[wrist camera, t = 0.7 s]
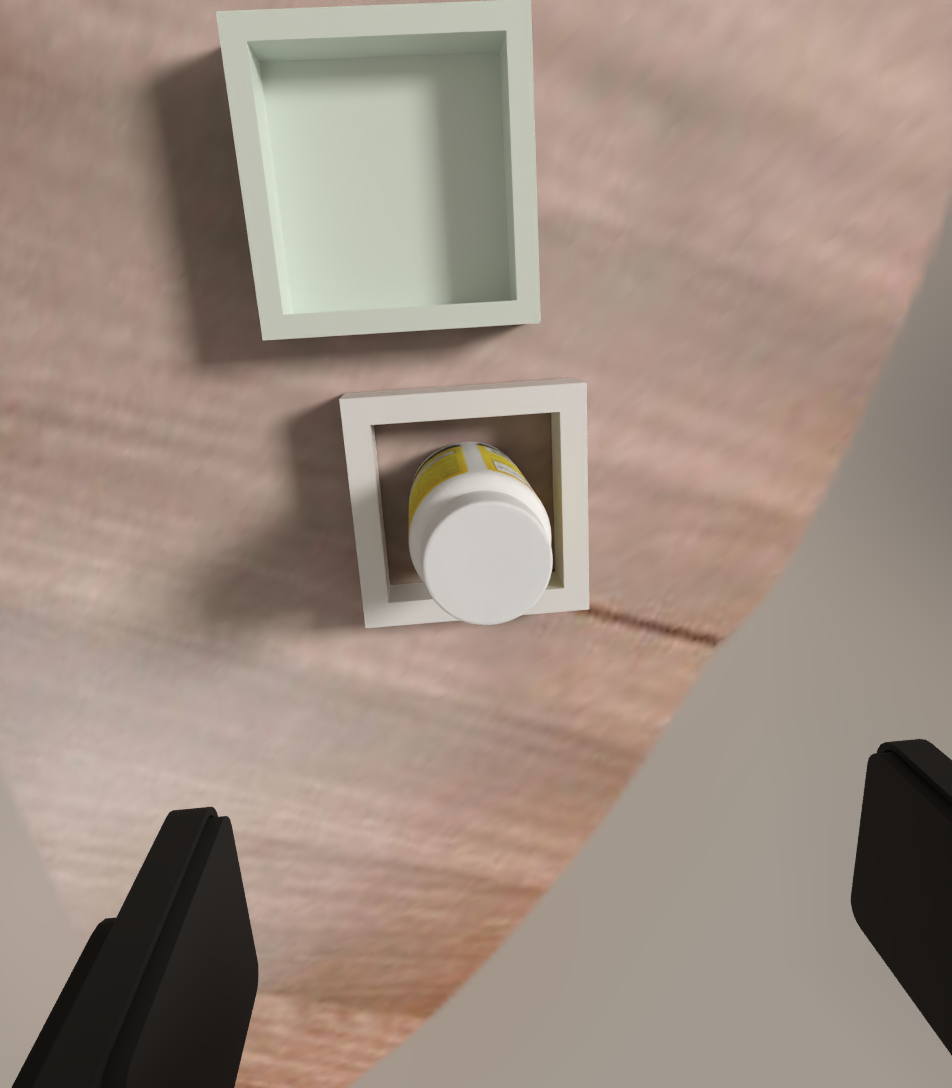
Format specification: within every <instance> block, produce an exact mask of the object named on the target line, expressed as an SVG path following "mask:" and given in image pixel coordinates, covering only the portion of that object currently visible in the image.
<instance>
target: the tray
mask: <svg viewBox="0 0 952 1088" xmlns="http://www.w3.org/2000/svg"><path fill="white" fill-rule="evenodd" d="M216 17H217V24H218V31H219V38H220V45H221V52H222V59H223V66H224V73H225V80H226V87H227V94H228V101H229V108H230V115H231V122H232V129H233V136H234V143H235V150H236V157H237V164H238V171H239V178H240V185H241V192H242V199H243V206H244V213H245V220H246V227H247V234H248V241H249V248H250V255H251V262H252V269H253V276H254V283H255V290H256V297H257V304H258V311H259V318H260V325H261V332H262V339H263V340H279V339H295V338H311V337H327V336H342V335H358V334H374V333H390V332H406V331H422V330H437V329H453V328H469V327H485V326H501V325H516V324H532V323H541V316H540V283H539V250H538V217H537V184H536V151H535V118H534V85H533V52H532V19H531V0H496V1H470V2H444V3H418V4H393V5H367V6H341V7H315V8H290V9H264V10H238V11H216Z"/></svg>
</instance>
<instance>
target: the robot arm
mask: <svg viewBox="0 0 952 1088" xmlns="http://www.w3.org/2000/svg"><path fill="white" fill-rule="evenodd" d="M851 905H852V910H853V914H854V917H855V919H856V921H857V923H858V925H859V926H860V928H861V930H862V931H863V932H864V934H865V935H866V937H867V938H868V939H869V941H870V942H871V944H872V945H873V946H874V948H875V949H876V951H877V952H878V953H879V954H880V956H881V957H882V959H883V960H884V962H885V963H886V964H887V966H888V967H889V968H890V970H891V971H892V973H893V974H894V976H895V977H896V978H897V980H898V981H899V983H900V984H901V985H902V987H903V988H904V989H905V991H906V992H907V994H908V995H909V996H910V998H911V999H912V1001H913V1002H914V1003H915V1005H916V1006H917V1008H918V1009H919V1010H920V1011H921V1013H922V1014H923V1016H924V1017H925V1019H926V1020H927V1022H928V1023H929V1024H930V1026H931V1027H932V1029H933V1030H934V1031H935V1032H936V1034H937V1035H938V1037H939V1038H940V1039H941V1041H942V1042H943V1044H944V1045H945V1047H946V1048H947V1049H948V1051H949V1052H950V1053H951V1055H952V760H951V759H950V758H948V757H947V756H946V755H945V754H944V753H942V752H941V751H940V750H939V749H938V748H936V747H935V746H934V745H933V744H932V743H930V742H928V741H927V740H923V739H915V740H905V741H894V742H885V743H883V744H881V745H880V747H879V748H878V750H877V753H876V754H873V755H871V756H870V757H869V760H868V764H867V772H866V780H865V788H864V796H863V804H862V812H861V820H860V828H859V836H858V844H857V852H856V860H855V869H854V876H853V884H852V892H851ZM257 986H258V961H257V956H256V950H255V945H254V940H253V935H252V929H251V924H250V919H249V914H248V908H247V903H246V898H245V893H244V888H243V882H242V877H241V872H240V867H239V861H238V856H237V851H236V846H235V840H234V835H233V830H232V825H231V821H230V819H229V817H227V816H223V817H218V815H217V812H216V810H215V809H214V808H213V807H205V808H194V809H184V810H173V811H171V812H170V813H169V814H168V816H167V817H166V819H165V821H164V823H163V825H162V827H161V829H160V831H159V833H158V835H157V837H156V839H155V841H154V843H153V845H152V847H151V849H150V851H149V853H148V855H147V857H146V859H145V861H144V863H143V865H142V867H141V869H140V871H139V873H138V875H137V877H136V879H135V881H134V883H133V885H132V887H131V889H130V891H129V894H128V896H127V898H126V900H125V902H124V904H123V906H122V908H121V910H120V912H119V914H118V916H117V918H108V919H105V920H103V921H102V922H101V923H99V924H98V926H97V927H96V929H95V930H94V932H93V933H92V935H91V936H90V938H89V940H88V942H87V944H86V946H85V948H84V950H83V952H82V954H81V956H80V957H79V959H78V961H77V963H76V965H75V967H74V969H73V971H72V973H71V975H70V977H69V979H68V981H67V983H66V984H65V986H64V988H63V990H62V992H61V994H60V996H59V998H58V1000H57V1001H56V1003H55V1005H54V1007H53V1009H52V1011H51V1013H50V1015H49V1017H48V1019H47V1021H46V1023H45V1024H44V1026H43V1029H42V1030H41V1032H40V1034H39V1036H38V1038H37V1040H36V1042H35V1044H34V1046H33V1047H32V1050H31V1051H30V1053H29V1055H28V1057H27V1059H26V1061H25V1063H24V1065H23V1067H22V1068H21V1071H20V1072H19V1074H18V1076H17V1078H16V1080H15V1082H14V1084H13V1086H12V1088H234V1086H235V1082H236V1078H237V1073H238V1069H239V1065H240V1061H241V1056H242V1052H243V1048H244V1044H245V1039H246V1035H247V1031H248V1027H249V1023H250V1018H251V1014H252V1010H253V1006H254V1001H255V997H256V992H257Z"/></svg>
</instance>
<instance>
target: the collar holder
mask: <svg viewBox="0 0 952 1088" xmlns="http://www.w3.org/2000/svg"><path fill="white" fill-rule="evenodd" d="M339 401H340V410H341V419H342V428H343V436H344V445H345V454H346V462H347V471H348V480H349V489H350V497H351V506H352V515H353V524H354V532H355V541H356V550H357V558H358V567H359V576H360V585H361V593H362V602H363V611H364V619H365V628H375V627H387V626H399V625H411V624H422V623H434V622H446V621H458V620H459V619H456V618H454V617H453V616H451V615H449V614H448V613H447V612H445V611H444V610H443V609H442V608H441V607H440V606H439V605H437V603H436V602H435V601H434V600H433V598H432V597H431V595H430V593H429V591H428V589H427V587H426V585H425V583H424V582H419V583H407V584H395V585H390V579H389V569H388V559H387V549H386V539H385V529H384V519H383V510H382V500H381V490H380V480H379V470H378V460H377V450H376V440H375V431H374V425H379V424H393V423H408V422H422V421H436V420H451V419H465V418H479V417H494V416H508V415H522V414H536V413H551V434H552V471H553V508H554V545H555V571H554V572H551V577H550V580H549V583H548V585H547V587H546V589H545V591H544V593H543V595H542V596H541V597H540V599H539V600H538V601H537V603H536V604H534V605H533V606H532V607H531V608H530V609H529V610H528V611H527V612H525V613H524V614H522V615H528V614H540V613H552V612H564V611H575V610H587V609H589V551H588V469H587V388H586V382H584V381H582V380H579V379H577V378H565V379H550V380H535V381H520V382H505V383H491V384H476V385H461V386H446V387H431V388H416V389H402V390H387V391H372V392H357V393H344V394H343V396H342V397H341V398H340V399H339Z"/></svg>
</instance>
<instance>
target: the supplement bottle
mask: <svg viewBox="0 0 952 1088" xmlns="http://www.w3.org/2000/svg"><path fill="white" fill-rule="evenodd" d="M409 551H410V555H411V559H412V562H413V565H414V567H415V569H416V571H417V573H418V575H419V576H420V578H421V580H422V581H423V582H424V583H425V585H426V587H427V589H428V591H429V593H430V595H431V597H432V598H433V600H434V601H435V602H436V603H437V605H439V606H440V607H441V608H442V609H443V610H444V611H445V612H447V613H448V614H449V615H451V616H453V617H454V618H456V619H459V620H461V621H463V622H467V623H471V624H476V625H494V624H500V623H504V622H507V621H510V620H513V619H515V618H517V617H519V616H521V615H522V614H524V613H525V612H527V611H528V610H529V609H530V608H531V607H532V606H533V605H534V604H536V603H537V601H538V600H539V599H540V597H541V596H542V595H543V593H544V591H545V589H546V587H547V585H548V583H549V580H550V577H551V572H552V565H553V555H552V549H551V527H550V522H549V518H548V515H547V513H546V510H545V508H544V506H543V504H542V502H541V501H540V499H539V498H538V496H537V495H536V494H535V492H534V491H533V489H532V488H531V486H530V485H529V483H528V482H527V480H526V479H525V478H524V476H523V475H522V473H521V472H520V470H519V469H518V467H517V466H516V464H515V463H514V462H513V461H512V460H511V459H510V458H509V457H508V456H507V455H506V454H504V453H503V452H502V451H500V450H498V449H497V448H495V447H493V446H490V445H487V444H484V443H479V442H459V443H454V444H451V445H448V446H445V447H443V448H441V449H439V450H437V451H435V452H434V453H432V454H431V455H430V456H429V457H428V458H427V459H426V460H425V461H424V462H423V463H422V464H421V466H420V467H419V468H418V470H417V472H416V474H415V476H414V478H413V481H412V484H411V488H410V493H409Z"/></svg>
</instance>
